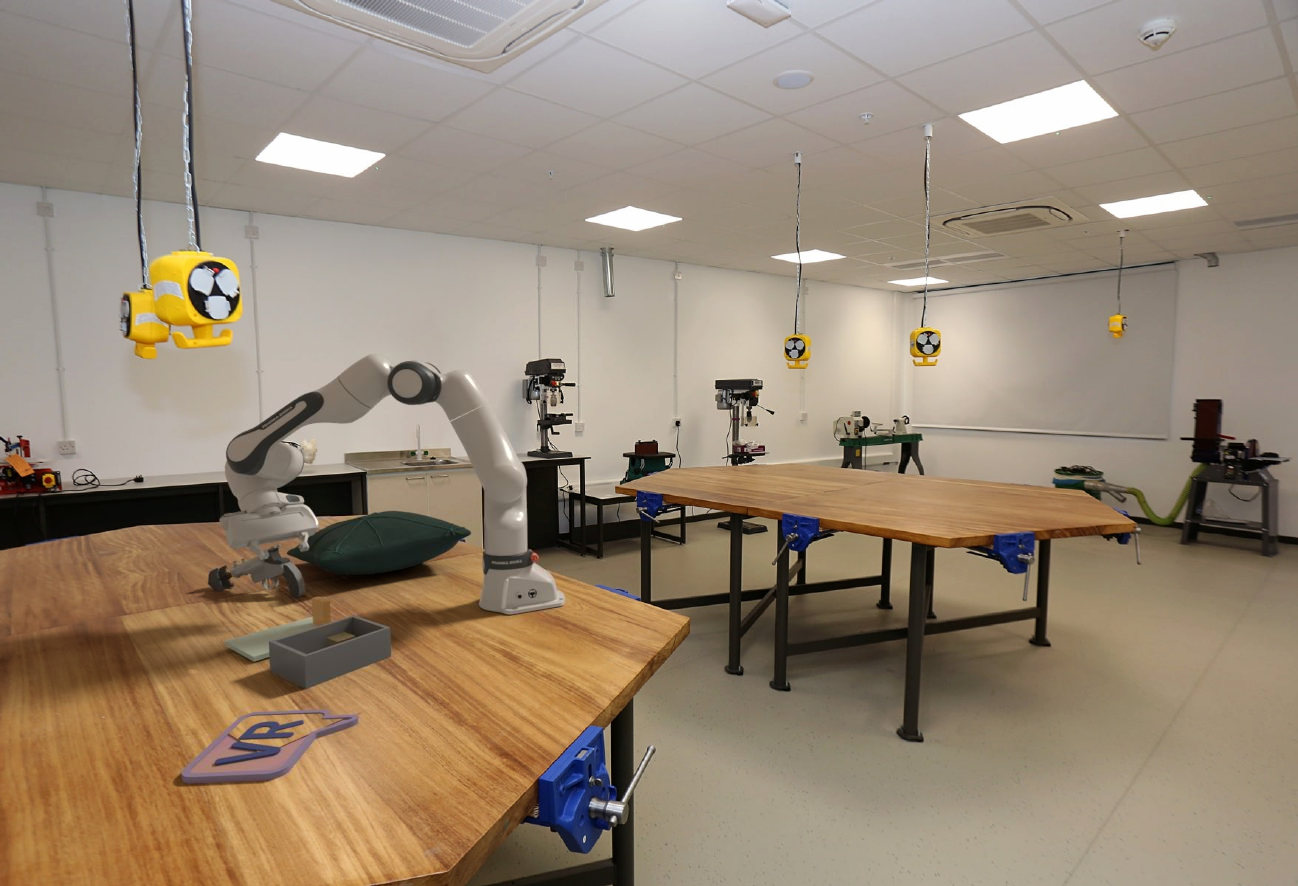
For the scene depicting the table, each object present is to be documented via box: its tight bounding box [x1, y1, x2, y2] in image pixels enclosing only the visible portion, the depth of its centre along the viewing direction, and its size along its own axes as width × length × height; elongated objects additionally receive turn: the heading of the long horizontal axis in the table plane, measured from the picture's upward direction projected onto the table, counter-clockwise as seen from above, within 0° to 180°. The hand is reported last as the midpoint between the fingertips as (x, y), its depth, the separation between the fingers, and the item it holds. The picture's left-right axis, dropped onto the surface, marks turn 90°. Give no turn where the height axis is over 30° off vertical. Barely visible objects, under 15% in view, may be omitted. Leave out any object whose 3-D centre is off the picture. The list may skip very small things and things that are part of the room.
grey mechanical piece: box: [207, 543, 306, 599], centre depth 180 cm, size 6×28×16 cm, turn 77°
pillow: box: [286, 510, 472, 576], centre depth 204 cm, size 44×18×44 cm
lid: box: [224, 596, 332, 662], centre depth 144 cm, size 19×14×8 cm
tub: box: [268, 615, 392, 690], centre depth 132 cm, size 18×13×7 cm
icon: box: [181, 709, 360, 784], centre depth 103 cm, size 19×2×20 cm
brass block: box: [326, 632, 356, 647], centre depth 136 cm, size 4×4×4 cm
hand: (285, 553), depth 155 cm, fingers open, 8 cm apart
